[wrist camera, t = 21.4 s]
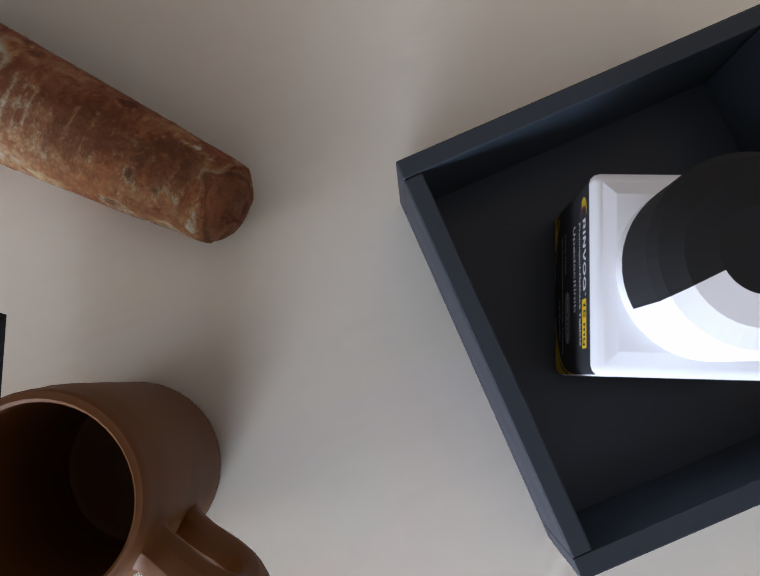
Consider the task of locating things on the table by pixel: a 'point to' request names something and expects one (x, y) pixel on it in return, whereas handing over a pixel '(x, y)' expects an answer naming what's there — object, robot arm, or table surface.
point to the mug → (111, 485)
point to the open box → (537, 295)
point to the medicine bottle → (662, 274)
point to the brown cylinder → (113, 146)
